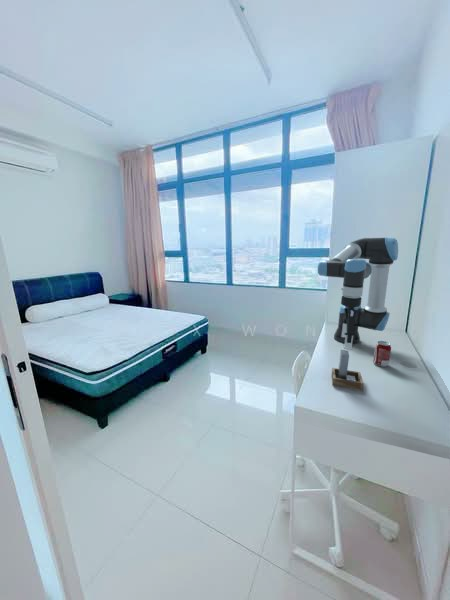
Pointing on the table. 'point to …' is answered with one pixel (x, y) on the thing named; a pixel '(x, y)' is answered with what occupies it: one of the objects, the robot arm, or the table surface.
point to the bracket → (344, 366)
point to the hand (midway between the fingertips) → (346, 342)
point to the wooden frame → (347, 383)
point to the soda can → (382, 353)
